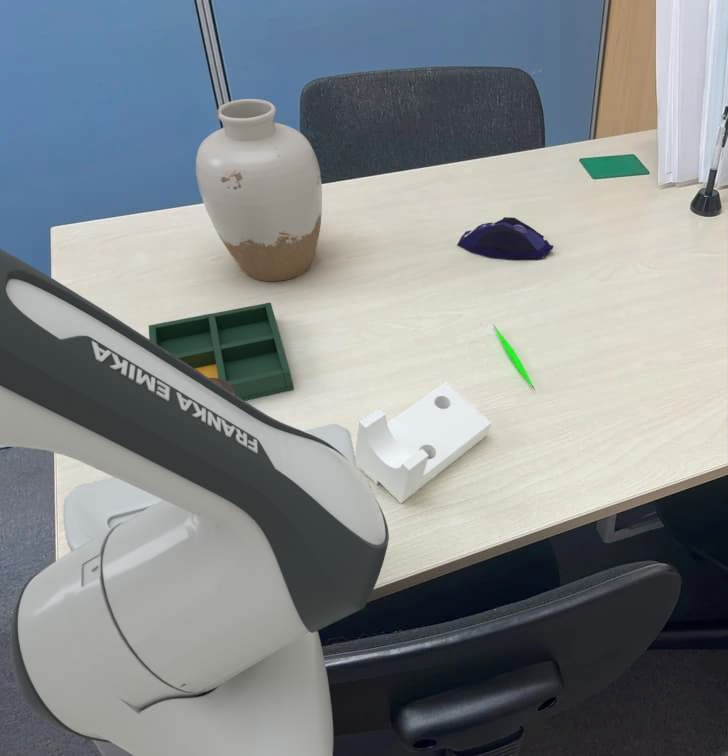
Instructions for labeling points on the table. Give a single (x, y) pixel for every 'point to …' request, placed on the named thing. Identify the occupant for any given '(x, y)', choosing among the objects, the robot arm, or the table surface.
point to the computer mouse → (506, 241)
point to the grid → (231, 348)
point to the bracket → (418, 440)
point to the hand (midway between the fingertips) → (212, 425)
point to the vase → (261, 190)
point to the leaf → (514, 357)
